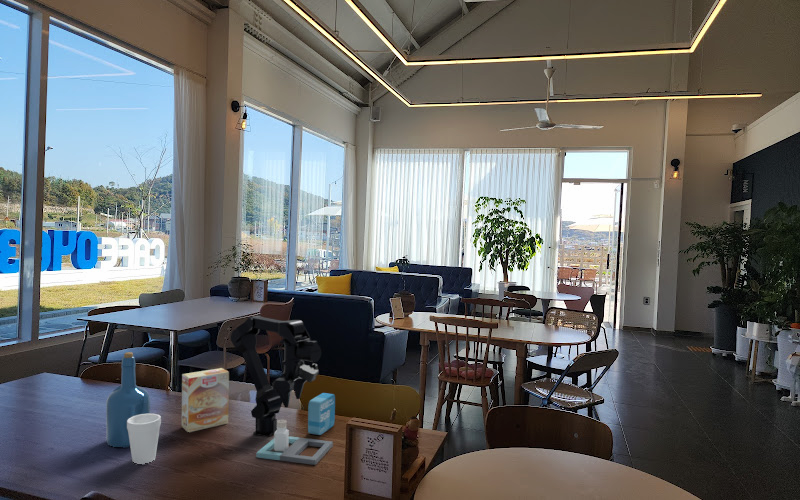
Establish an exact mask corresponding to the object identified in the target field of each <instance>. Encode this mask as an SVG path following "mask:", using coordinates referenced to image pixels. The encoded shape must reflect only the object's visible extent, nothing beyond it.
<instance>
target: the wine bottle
mask: <svg viewBox="0 0 800 500" xmlns="http://www.w3.org/2000/svg"><path fill="white" fill-rule="evenodd" d="M135 358H136V357H135V356H134V353H133V352H132V351H128V352H124V354H123V356H122V359H121V366H120V368H121V378H120V379H121V385H119V386H118V387H116V388H114V389H113V390H112V392H110V394H109V395H108V397H107V399H106V415H105V416H106V418H105V419H106V421H105V422H106V423H105V424H106V443H107V445H108V446H109V445H110V446H109V447H111V446H113V447H112V448H114V447H123V448H124V449H125V448H130V441H129V434H128V429H127V420H128V419H129V418H131V417H133V416H136V415H140V414H151V397H150V394H149V392H148V391H147V390H146V389H145V388H143V387H139V386H138V385H137V384H136V383H137V380H136V367H137V366H136V359H135Z"/></svg>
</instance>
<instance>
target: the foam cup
mask: <svg viewBox="0 0 800 500" xmlns="http://www.w3.org/2000/svg"><path fill="white" fill-rule="evenodd" d="M161 424H162V416H161V415H160V414H159V413H158V414H157V413H150V414H140V415H136V416H133V417H131V418H129V419H128V420H127V429H128V434H129V441H130V447H129V448H130V453H131V454H130V455H131V461H132V463H133V462H134V463H137V464H142V465H146V464H145V463H148V464H150V463H149V462H151V463H153V462H154V461H155V459H156V455H157V449H158V442H159V435H160V428H161ZM153 460H154V461H153ZM152 461H153V462H152ZM134 463H133V464H134ZM137 464H136V465H137Z"/></svg>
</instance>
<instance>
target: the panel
mask: <svg viewBox="0 0 800 500" xmlns="http://www.w3.org/2000/svg"><path fill="white" fill-rule="evenodd" d="M289 444H291V445H290V446H289V447H288V449H286V450H285V451H284V452H280V451H273V450H274V438H273V439H271V440H270V441H269V442H267V443H266V444H265V445H264V446H262V447H261V448H260V449H259V450H258V451H256V455H255V456H256V458H260V459H267V460H276V461H283V462H290V463H297V464H305V465H306V464H307V465H313V466H316V465H317V464H318V463H319V462H320V461H321V460H322V458H324V457H325V455H326V454H327V453H328V452H329V451H330V450H331V449H332V448H333V447H334V441H331V440H321V439H314V438H306V437H298V436H297V437H296V436H291V435H290V436H289ZM308 447H318V448H319V449H318V450H317V451H316V452H315V453H314V454H313V455H312V456H310V455H308V456H307V455H301V453H302V452H304V450H305V449H306V448H308Z"/></svg>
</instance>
